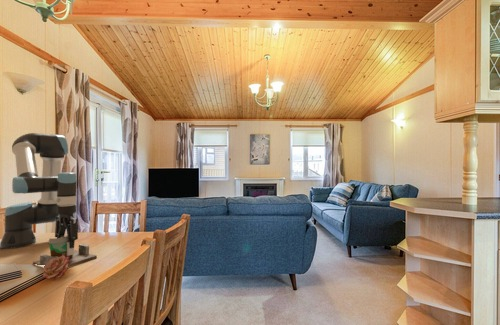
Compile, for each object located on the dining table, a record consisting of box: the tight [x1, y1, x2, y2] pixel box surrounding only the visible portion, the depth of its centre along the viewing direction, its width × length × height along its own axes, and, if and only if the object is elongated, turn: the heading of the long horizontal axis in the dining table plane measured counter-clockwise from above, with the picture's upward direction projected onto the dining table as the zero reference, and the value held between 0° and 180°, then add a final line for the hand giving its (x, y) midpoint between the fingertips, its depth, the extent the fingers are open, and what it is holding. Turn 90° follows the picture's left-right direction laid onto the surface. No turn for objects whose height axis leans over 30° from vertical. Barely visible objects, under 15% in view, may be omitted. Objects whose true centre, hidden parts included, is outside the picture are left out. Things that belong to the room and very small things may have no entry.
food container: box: [48, 235, 76, 259], centre depth 118 cm, size 12×6×10 cm, turn 168°
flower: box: [42, 255, 70, 281], centre depth 101 cm, size 10×9×8 cm
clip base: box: [32, 243, 98, 268], centre depth 118 cm, size 18×18×5 cm
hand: (65, 253), depth 118 cm, fingers closed on food container, 7 cm apart
